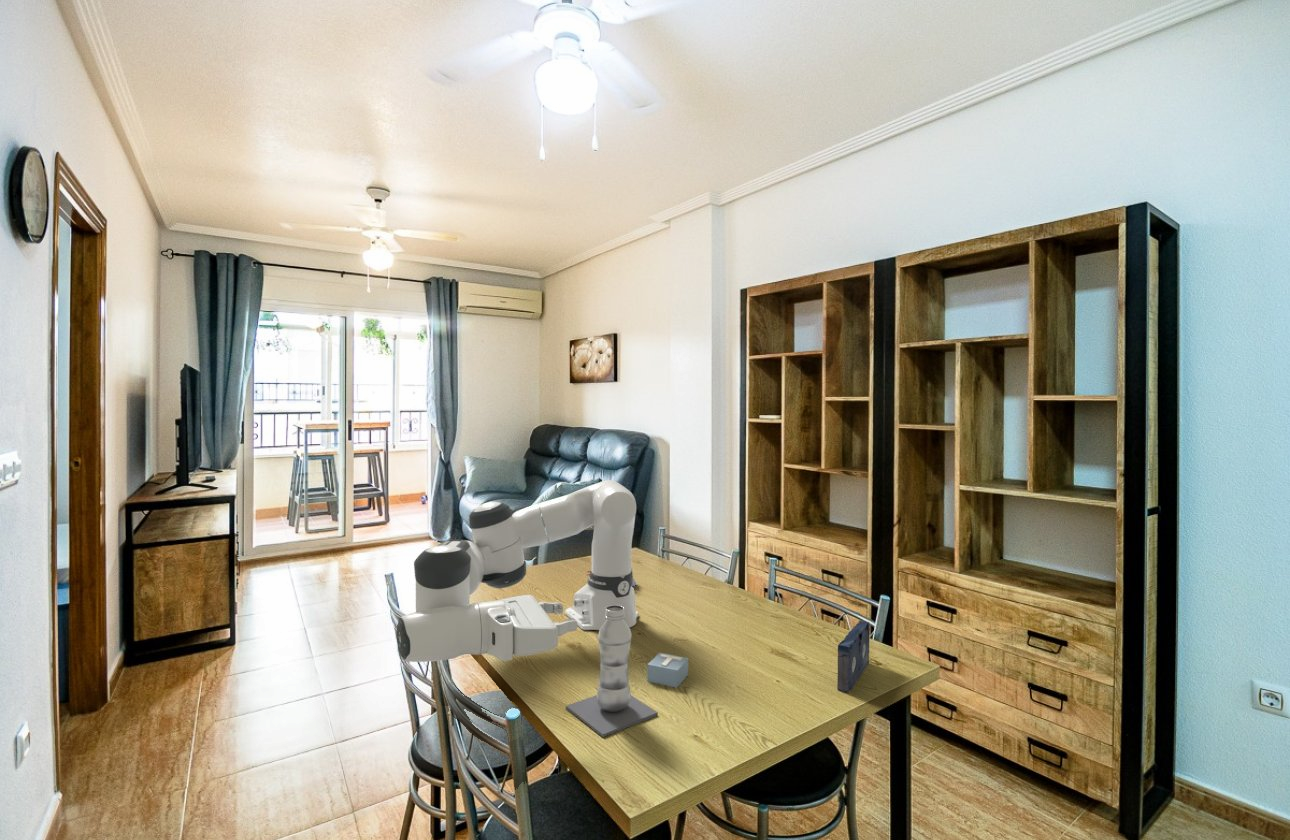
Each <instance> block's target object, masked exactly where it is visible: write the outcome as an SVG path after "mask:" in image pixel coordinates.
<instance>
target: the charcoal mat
mask: <svg viewBox="0 0 1290 840" xmlns="http://www.w3.org/2000/svg"><path fill="white" fill-rule="evenodd" d="M565 709H566V710H567V711H568V712H569V713H571V714H572V715H573V714H574V715H575V716H574V715H573V716H574V717H576V716H577V717H578V718H579V719H578V718H577V717H576V718H577V719H578V720H579V721H581V720H582V721H583V722H584V723H583V722H582V721H581V722H582V723H583V724H585V723H586V724H587V725H588V726H587V725H586V724H585V725H586V726H587V727H589V728H590V727H591V728H592V729H593V730H592V729H591V728H590V729H591V730H592V731H594V732H595V731H596V732H597V733H598V735H599V734H600V735H601V736H602V737H601V736H600V735H599V736H600V737H601V738H605V737H604V736H606V737H608V736H610V735H609V734H611V735H613V734H615V733H614V732H616V731H618V732H621V731H623V730H625V729H627V727H628V728H630V727H633V726H636V725H638V724H639V723H643V722H645V721H647V720H649V719H650V720H651V719H652V718H654V717H657V716H658V715H659V714H658V713H659V712H658V711H656V710H655V709H653V708H651V707H650V706H649V705H647V704H646V703H644V702H643V701H641V700H639V699H638V698H637V697H635V696H633V695H632V694H631V696H630V701H629V704H628V706H627V707H626V708H625V709H624V710H622V711H618V712H608V711H604V710H602V709H601V708H600V706H599V705H598V702H597V694H596V695H592V696H589V697H588V698H587V697H586V698H585V699H582V700H579V701H576V702H573V703H570V704H568V705H567V704H566V706H565ZM642 721H643V722H642ZM596 732H595V733H596ZM597 733H596V734H597ZM612 733H613V734H612ZM616 733H617V732H616ZM607 735H608V736H607Z"/></svg>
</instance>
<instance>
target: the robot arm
mask: <svg viewBox="0 0 1290 840" xmlns="http://www.w3.org/2000/svg"><path fill="white" fill-rule="evenodd" d="M636 514H637V502H636V498H635V496H634V494H633V493H632V492H631V490H629V488H626V487H625V486H624V485H622V484H621V483H619V482H617V481H615V480H611V479H609V480H607V479H606V480H603V481H602V480H601V481H600V482H599V481H598V482H597V483H594V484H593V483H592V484H591V485H588V486H585V487H583V488H581V489H578V490H576V491H574V492H571V493H568V494H565V495H562V496H559V497H556V498H552V499H548V500H545V501H542V502H538V503H535V504H532V505H530V506H527V507H524V508H521V509H519V510H516V509H515V508H511V507H510V506H509V505H508V504H507V503H504V502H503V501H487V502H485V503H482V504H480V505H478V506H476V508H473V509H472V510H471V512H470V513H469V516H468V517H469V518H468V523H469V528H470V529H471V536H472V541H471V540H466V539H450V540H449V539H448V540H446V541H442V542H440V543H439V544H437V545H436V546H433V547H428V548H426V549H424V550H423V551H422V552H421V553H420V554H419V555H417V557H416V559H414V562H413V568H414V569H413V570H414V579H415V612H411V613H408V614H404V615H402V616H400V618H399V619H398V621H397V625H396V643H397V649H398V653H399V656H400V657H401V659H402V660H403V661H405V662H410V663H424V662H425V663H427V662H429V663H430V662H439V661H447V660H453V659H457V658H458V657H461V656H464V655H475V656H477V655H484V654H487V655H489V656H492V657H494V658H496V659H497V660H499V661H501V662H507V661H512V660H513V658H514V656H516V657H525V656H531V655H536V654H541V653H546V652H550V651H552V650H554V649H555V648H557V647H558V645H559V637H561V636H564V635H565V634H567V633H569V632H575V631H578V627H579V628H580V629H581V630H584V631H590V630H591V631H593V630H595V631H600V628H601V627H602V625H603V624H604V622H605V621H606V618H605V609H606V607H607V606H611V605H619V606H622V607H624V614H625V618H624V619H623V620H624V621H625V623H626V624H627V625H628V627H629V628H630V629H631V628H632V627H634V626H636V624H637V619H638V617H639V616H640V615H639V611H637V608H636V607H637V606H636V594H635V589H634V586H632V584H633V579H634V575H633V570H632V571H631V567H632V544H633V543H632V542H633V536H634V531H635V529H634V528H635V521H636ZM591 527H593V534H592V535H593V536H592V541H591V570H589V571H588V570H587V571H586V573H587V574H586V576H588V579H587V582H586V584H585V585H583V586H582V587H581V588H579V589H578V590H577V591H576V592H575V593H574V596H573V605H572V606H570V607H568V608H566V609H565V610H564V605H563V604H562V603H561V602H560V601H559V602H548V601H538V600H537V599H536V598H535V595H532V594H523V595H516V596H515V595H514V596H510V597H506V598H502V599H497V600H489V601H481V602H474V603H471V604H470V598H471V597H470V596H472V594H473V593H475V592H476V591H477V589H478V588H479V587H480V585H481V583H482V584H485V585H487V586H488V587H491V588H493V589H504V588H509V587H512V586H514V585H517V584H518V583H520V582H521V581H522V580H523V579H524V578H525V576H526V575H527V564H526V563H527V562H526V560H525V556H524V555H525V554H524V550H523V549H527V548H528V549H529V548H533V547H538V546H542V545H546V544H549V543H550V544H551V543H553V542H555V541H556V542H557V541H560V540H563V539H566V538H570V537H573V536H575V535H578V534H580V533H581V532H583V531H585V530H586V529H588V528H591ZM564 611H565V612H564ZM563 612H564V613H565V615H566V616H567V617H568V618H567V619H565V621H561V622H558V621H557V622H556V621H555V622H553V620H552V619H551V617H550V616H549V614H553V615H558V614H559V615H560V614H563Z"/></svg>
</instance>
